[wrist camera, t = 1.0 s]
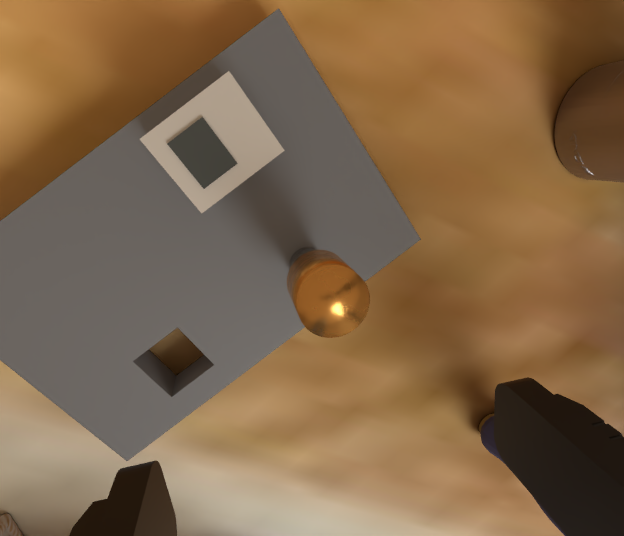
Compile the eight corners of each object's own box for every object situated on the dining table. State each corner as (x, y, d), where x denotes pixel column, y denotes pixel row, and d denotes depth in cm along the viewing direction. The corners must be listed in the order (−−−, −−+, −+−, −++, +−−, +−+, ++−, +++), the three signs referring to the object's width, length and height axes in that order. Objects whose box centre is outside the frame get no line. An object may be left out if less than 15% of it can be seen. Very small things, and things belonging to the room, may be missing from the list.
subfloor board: (273, 23, 27) (278, 8, 24) (404, 231, 33) (420, 239, 30) (-57, 274, 27) (-89, 289, 24) (135, 434, 33) (127, 461, 30)
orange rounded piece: (312, 225, 28) (343, 252, 21) (343, 267, 30) (382, 307, 22) (267, 259, 28) (282, 299, 21) (300, 299, 30) (325, 351, 22)
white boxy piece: (228, 81, 25) (228, 70, 21) (277, 150, 26) (284, 150, 23) (151, 140, 25) (138, 139, 21) (204, 205, 26) (201, 214, 23)
